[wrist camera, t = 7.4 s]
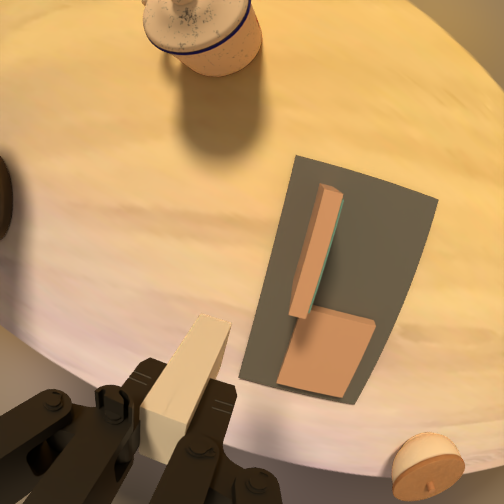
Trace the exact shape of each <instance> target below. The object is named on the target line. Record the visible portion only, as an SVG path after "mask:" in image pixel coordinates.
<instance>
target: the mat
mask: <svg viewBox="0 0 504 504" xmlns="http://www.w3.org/2000/svg"><path fill="white" fill-rule="evenodd" d="M319 183H321V184H325V185H329V186H332V187H335V188H336V189H337V190H338V191H340V192H341V193H342V194H343V198H342V199H344V202H343V205H342V209H341V213H340V216H339V220H338V223H337V227H336V230H335V234H334V237H333V241H332V244H331V247H330V251H329V254H328V257H327V260H326V264H325V267H324V270H323V273H322V277H321V280H320V283H319V286H318V289H317V292H316V295H315V298H314V301H313V304H312V305H316V306H320V307H324V308H327V309H331V310H335V311H339V312H343V313H347V314H351V315H355V316H359V317H363V318H367V319H371V320H374V322H375V325H376V327H375V330H374V332H373V334H372V337H371V339H370V341H369V343H368V346H367V348H366V350H365V352H364V354H363V357H362V359H361V361H360V363H359V365H358V367H357V369H356V371H355V373H354V375H353V377H352V379H351V381H350V383H349V385H348V387H347V389H346V391H345V393H344V395H343V397H342V398H341V397H336V396H331V395H326V394H321V393H316V392H312V391H307V390H303V389H299V388H294V387H290V386H286V385H282V384H278V383H276V382H277V376H278V373H279V370H280V368H281V365H282V362H283V359H284V356H285V353H286V350H287V348H288V345H289V342H290V339H291V336H292V333H293V330H294V327H295V324H296V321H297V318H298V317H295V316H291V315H288V314H289V307H290V300H291V292H292V284H293V278H294V275H295V272H296V268H297V265H298V261H299V258H300V254H301V251H302V247H303V243H304V240H305V236H306V232H307V229H308V225H309V221H310V218H311V214H312V210H313V207H314V203H315V199H316V195H317V191H318V187H319ZM437 204H438V199H435V198H433V197H430V196H427V195H425V194H422V193H419V192H416V191H413V190H411V189H408V188H405V187H402V186H399V185H396V184H393V183H390V182H387V181H384V180H381V179H378V178H375V177H371V176H368V175H365V174H362V173H358V172H355V171H352V170H348V169H345V168H342V167H338V166H335V165H331V164H327V163H324V162H320V161H316V160H313V159H309V158H305V157H301V156H297V155H296V157H295V161H294V165H293V169H292V173H291V177H290V181H289V185H288V189H287V193H286V197H285V201H284V205H283V209H282V213H281V217H280V221H279V225H278V229H277V233H276V237H275V241H274V245H273V249H272V253H271V257H270V261H269V264H268V268H267V272H266V276H265V280H264V284H263V287H262V291H261V295H260V299H259V303H258V306H257V310H256V314H255V318H254V321H253V325H252V329H251V333H250V336H249V340H248V344H247V347H246V351H245V355H244V358H243V362H242V366H241V369H240V373H239V377H238V378H241V379H245V380H249V381H252V382H256V383H260V384H263V385H267V386H271V387H275V388H279V389H283V390H287V391H291V392H296V393H300V394H304V395H309V396H313V397H318V398H323V399H328V400H333V401H338V402H343V403H349V404H354V405H355V403H356V401H357V399H358V397H359V396H360V394H361V392H362V390H363V388H364V386H365V384H366V383H367V381H368V379H369V377H370V375H371V373H372V371H373V369H374V367H375V365H376V363H377V361H378V359H379V357H380V355H381V353H382V351H383V348H384V346H385V344H386V342H387V340H388V338H389V335H390V333H391V331H392V329H393V327H394V324H395V322H396V320H397V317H398V315H399V313H400V310H401V308H402V305H403V303H404V301H405V298H406V296H407V293H408V290H409V288H410V285H411V283H412V280H413V277H414V275H415V272H416V269H417V266H418V264H419V261H420V258H421V255H422V252H423V249H424V246H425V243H426V240H427V237H428V234H429V231H430V227H431V224H432V221H433V218H434V214H435V211H436V207H437Z"/></svg>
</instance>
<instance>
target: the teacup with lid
mask: <svg viewBox="0 0 504 504" xmlns="http://www.w3.org/2000/svg"><path fill="white" fill-rule="evenodd" d="M142 3H143V5H144V6H145V9H144V13H143V26H144V30H145V33H146V35H147V37H148V39H149V40H150V42H151V43H152V44H153V45H154V46H156V47H157V48H158V49H160V50H162V51H164V52H167V53H170V54H172V55H173V56H174V57H176V58H177V59H179V60H180V61H181V62H183V63H184V64H185V65H187V66H188V67H189V68H191V69H192V70H193V71H195V72H197V73H199V74H202V75H205V76H212V77H218V76H225V75H229V74H232V73H235V72H237V71H239V70H241V69H242V68H244V67H245V66H247V65H248V64H249V63H250V62H251V61H252V60H253V59H254V57H255V56H256V54H257V53H258V51H259V48H260V46H261V41H262V32H261V28H260V25H259V23H258V20H257V17H256V15H255V12H254V10H253V7H252V5H251V0H142Z"/></svg>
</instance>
